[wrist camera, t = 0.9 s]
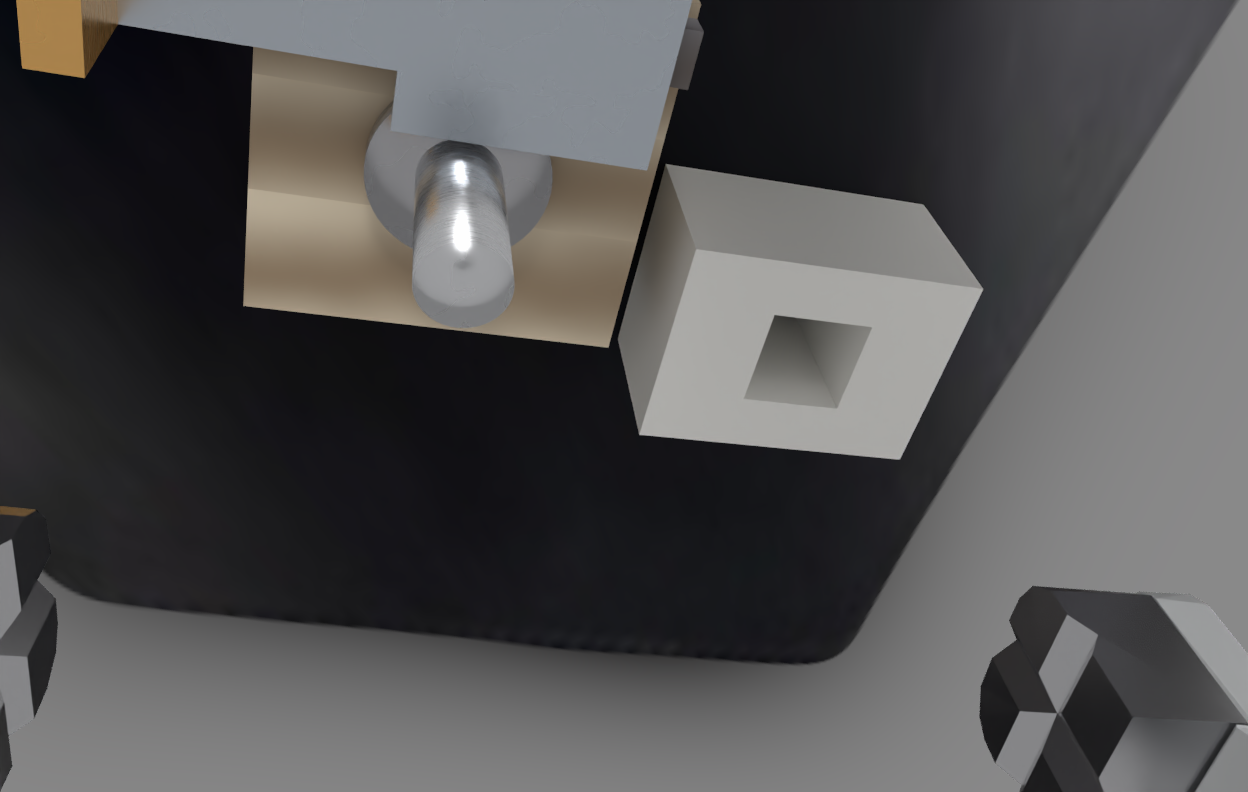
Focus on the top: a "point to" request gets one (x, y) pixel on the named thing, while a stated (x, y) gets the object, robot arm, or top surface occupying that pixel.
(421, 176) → the peg
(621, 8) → the keeper plate
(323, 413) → the top surface
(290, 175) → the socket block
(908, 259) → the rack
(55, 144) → the top surface
